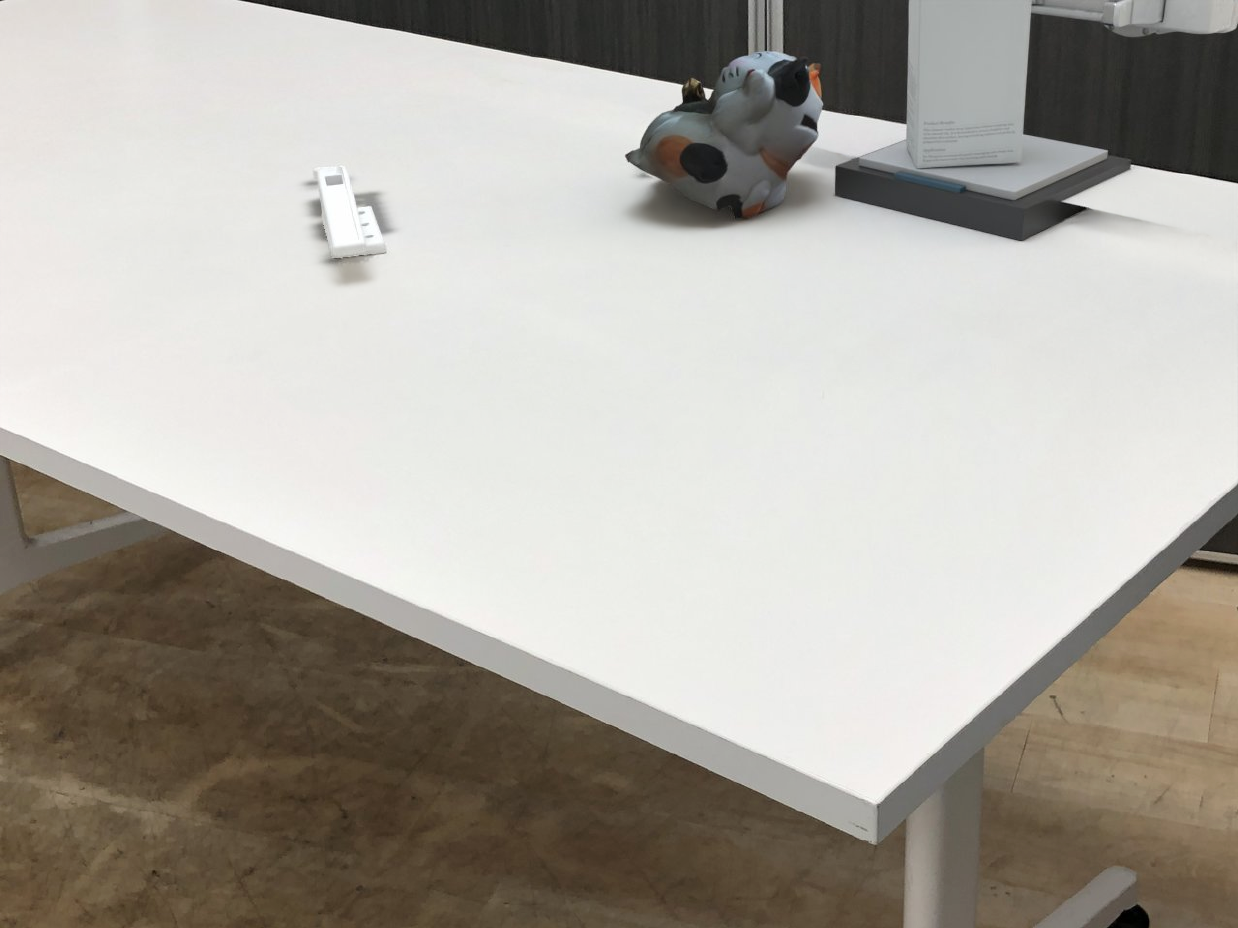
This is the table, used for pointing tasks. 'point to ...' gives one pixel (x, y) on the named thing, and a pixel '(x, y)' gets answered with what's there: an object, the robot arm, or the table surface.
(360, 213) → the white intercom handset
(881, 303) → the table surface
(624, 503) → the table surface
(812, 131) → the lucky cat figurine
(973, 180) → the scale
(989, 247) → the table surface
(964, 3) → the cosmetic box
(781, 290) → the table surface
